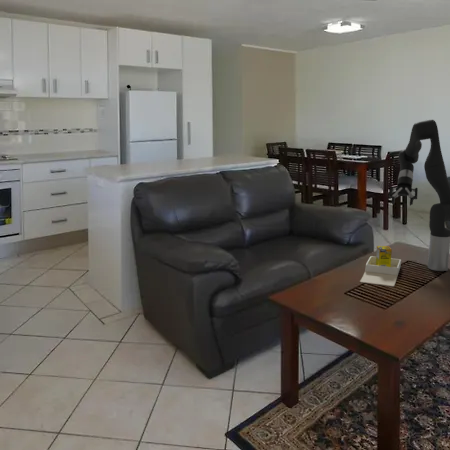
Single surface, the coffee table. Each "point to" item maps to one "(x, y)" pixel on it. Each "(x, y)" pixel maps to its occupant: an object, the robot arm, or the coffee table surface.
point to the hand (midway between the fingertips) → (401, 204)
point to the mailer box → (381, 272)
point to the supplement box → (383, 256)
